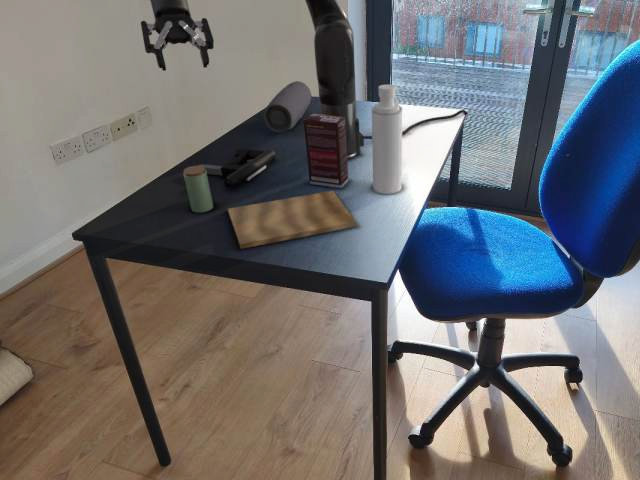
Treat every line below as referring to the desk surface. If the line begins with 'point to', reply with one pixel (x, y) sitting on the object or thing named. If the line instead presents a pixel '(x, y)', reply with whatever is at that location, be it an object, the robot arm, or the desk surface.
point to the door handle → (242, 166)
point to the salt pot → (198, 189)
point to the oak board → (289, 219)
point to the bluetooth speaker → (287, 107)
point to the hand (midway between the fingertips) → (185, 67)
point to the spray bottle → (387, 142)
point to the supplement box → (326, 150)
